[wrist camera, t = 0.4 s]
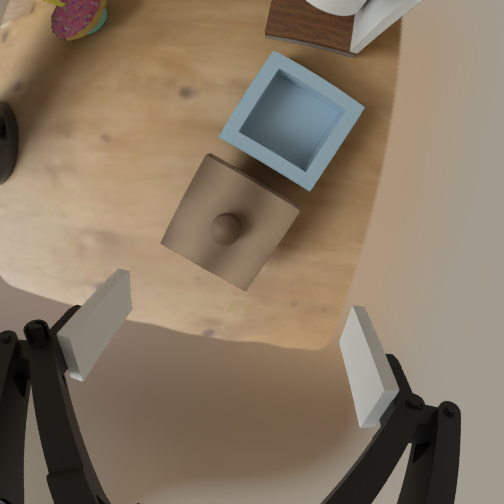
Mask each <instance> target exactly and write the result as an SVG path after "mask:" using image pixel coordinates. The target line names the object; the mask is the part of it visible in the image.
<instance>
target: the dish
mask: <svg viewBox="0 0 504 504" xmlns="http://www.w3.org/2000/svg"><path fill="white" fill-rule="evenodd" d="M364 108H365V107H364V106H362V105H361V104H360V103H358V102H357V101H355V100H354V99H353V98H351V97H350V96H348V95H347V94H345V93H344V92H343V91H341V90H340V89H338V88H337V87H335V86H334V85H332V84H330V83H329V82H327V81H326V80H324V79H323V78H321V77H319V76H318V75H316V74H315V73H313V72H311V71H310V70H308V69H306V68H305V67H303V66H301V65H299V64H298V63H296V62H294V61H292V60H291V59H289V58H287V57H285V56H283V55H282V54H280V53H278V52H276V51H273V52H272V54H271V55H270V56H269V58H268V59H267V61H266V62H265V64H264V65H263V67H262V68H261V70H260V71H259V73H258V74H257V76H256V77H255V79H254V80H253V82H252V83H251V85H250V86H249V88H248V90H247V91H246V93H245V94H244V96H243V97H242V99H241V101H240V102H239V104H238V105H237V107H236V109H235V110H234V112H233V114H232V115H231V117H230V119H229V120H228V122H227V123H226V125H225V127H224V129H223V130H222V132H221V134H220V135H219V138H220V139H222V140H224V141H226V142H228V143H229V144H231V145H233V146H235V147H237V148H238V149H240V150H242V151H244V152H245V153H247V154H249V155H250V156H252V157H254V158H256V159H257V160H259V161H261V162H262V163H264V164H266V165H267V166H269V167H271V168H272V169H274V170H276V171H277V172H279V173H281V174H282V175H284V176H285V177H287V178H289V179H290V180H292V181H293V182H295V183H297V184H298V185H300V186H301V187H303V188H304V189H306V190H308V191H309V192H310V191H311V189H312V188H313V186H314V185H315V183H316V182H317V180H318V179H319V177H320V176H321V174H322V173H323V171H324V170H325V168H326V167H327V165H328V164H329V162H330V161H331V159H332V158H333V156H334V155H335V153H336V152H337V150H338V149H339V147H340V145H341V144H342V142H343V141H344V139H345V138H346V136H347V135H348V133H349V132H350V130H351V129H352V127H353V125H354V124H355V122H356V121H357V119H358V118H359V116H360V115H361V113H362V112H363V110H364Z"/></svg>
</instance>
